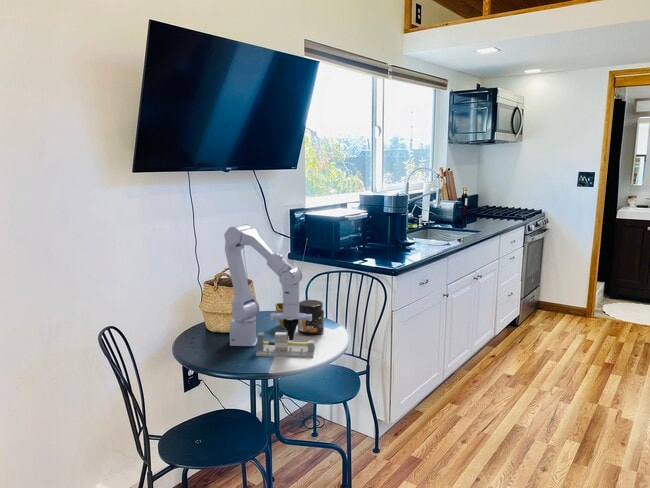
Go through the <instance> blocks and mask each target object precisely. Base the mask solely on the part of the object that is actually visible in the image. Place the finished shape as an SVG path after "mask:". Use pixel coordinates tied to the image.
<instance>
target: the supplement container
mask: <svg viewBox="0 0 650 488" xmlns="http://www.w3.org/2000/svg"><path fill="white" fill-rule="evenodd" d="M299 313H304V314H312V321H308V320H299V322H298V325H297V332H298V334H300V335H302V336H306V337H315V336H319V335H322V334H323V333H324V330H325V326H324V325H325V323H324V318H325V316H324V315H325V311H324V304H323V302H322V301H320V300H316V299H306V300H301V301H299Z"/></svg>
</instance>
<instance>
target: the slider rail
mask: <svg viewBox="0 0 650 488" xmlns="http://www.w3.org/2000/svg"><path fill="white" fill-rule="evenodd" d="M256 338H257V343H256V347H257V350H256V352H255V357H278V358H282V357H283V358H284V357H285V358H286V357H287V358H314V354H315V349H316V345H315V339H309V340H308V341H307V342H302V341H288V342H287V343H288V350H280V347H278V350H275V341H265V332H261V331H259V332H257V334H256Z"/></svg>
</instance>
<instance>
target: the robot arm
mask: <svg viewBox="0 0 650 488" xmlns="http://www.w3.org/2000/svg"><path fill="white" fill-rule="evenodd" d="M223 235H224V241H225V243H224V252H225V257H226V261H227V264H228V265H227V267H228V269H229V275H230V278H231V283H232V287H233V292H234V297H233V299H232V301H231V316H232V318H233V319H231V320H230V322H229V346H231V347H234V346H235V347H256V346H257V323H256V322H257V319H256V318H257V315H258V314H259V312H260V305H259V303H258V301H257V300H256V296H255V295H254V294H253V293H251V291H250V287H249V283H248V278H247V273H246V269H245V265H244V261H243V255H242V250H243V249H244V247H245V246H251V248H252V249H254V250H255V251H256V252H257V253H259V254H260V256H262V257H263V258H264V259H265V260H266V265H267V266H268V267H269V269H270V270H272V271H273V273H275V274H276V276H278V278H279V279H278V280H279V283H280V284H281V286H282V287H281V289H282V303H283V313H276V312H275V313H273V312H272V313H270V314H269V317H270V321H274V320H275V321H278V320H284V321H283V324H284V326H285V330H286V332H287V333H288V342H294V339H295V333H296V329H297V328H298V322H299V320H308V321H312V314H304V313H299V302H300V282H301V281H302V279H303V273H302V271H301V270H300V268H298V267H295V266H293V265H292V264H290V263H289V262H288V261H287V260H286V259H285V258H284V255H283V254H281V253H278V252H273V251H272V249H271V248H270V247H269V246H268V245H267V244H266V243H265V241H264V240H263V239H262V238H261V236H259V234H258V231H257V230H256V229H255V228H254V227H253V226H252V225H251V224H250V223H249V224H248V223H245V224H242V225H236V226H230V227H228V228H227V229H226V231H225V232H224V234H223Z"/></svg>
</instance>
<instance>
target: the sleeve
mask: <svg viewBox="0 0 650 488" xmlns="http://www.w3.org/2000/svg"><path fill="white" fill-rule="evenodd" d="M274 342H275V350H278V347H280V350H288V343H287V342H289V336H288V333H287V331H275V333H274Z"/></svg>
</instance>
